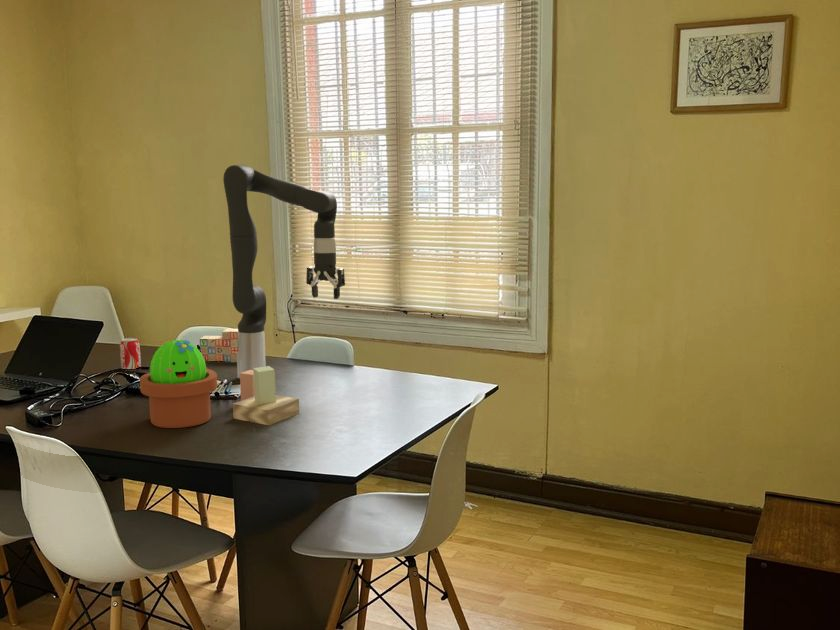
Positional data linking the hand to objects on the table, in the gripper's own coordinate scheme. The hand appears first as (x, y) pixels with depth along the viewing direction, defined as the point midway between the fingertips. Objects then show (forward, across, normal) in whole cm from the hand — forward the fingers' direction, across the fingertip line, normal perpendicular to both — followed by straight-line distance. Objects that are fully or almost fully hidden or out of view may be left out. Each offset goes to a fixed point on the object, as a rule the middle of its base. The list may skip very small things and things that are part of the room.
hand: (325, 298), depth 290 cm
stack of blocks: (+30, -54, +13) cm, 64 cm away
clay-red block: (+30, -8, -32) cm, 45 cm away
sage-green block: (+26, +5, -42) cm, 49 cm away
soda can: (+30, -76, -17) cm, 84 cm away
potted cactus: (+30, -15, -57) cm, 66 cm away
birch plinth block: (+31, +5, -42) cm, 52 cm away
